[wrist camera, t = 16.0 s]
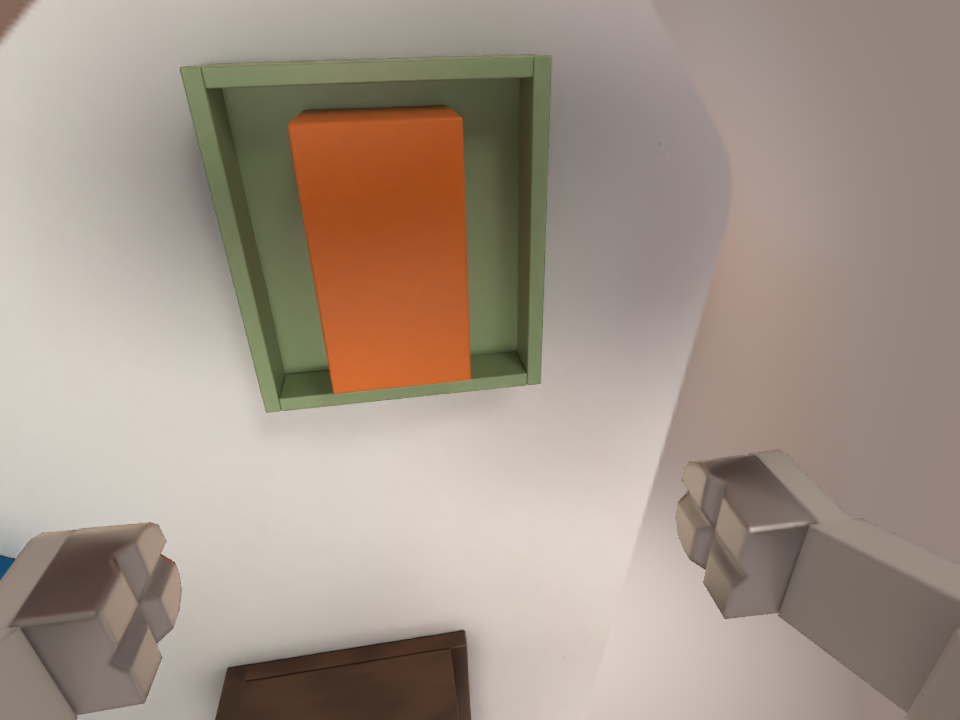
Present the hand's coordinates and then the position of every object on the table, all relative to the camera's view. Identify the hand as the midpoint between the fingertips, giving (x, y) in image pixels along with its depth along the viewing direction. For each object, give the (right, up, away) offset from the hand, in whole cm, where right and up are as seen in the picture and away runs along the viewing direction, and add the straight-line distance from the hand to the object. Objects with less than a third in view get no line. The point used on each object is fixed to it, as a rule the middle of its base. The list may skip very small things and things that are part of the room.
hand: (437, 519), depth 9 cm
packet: (-3, +7, +13) cm, 15 cm away
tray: (-3, +7, +14) cm, 16 cm away
